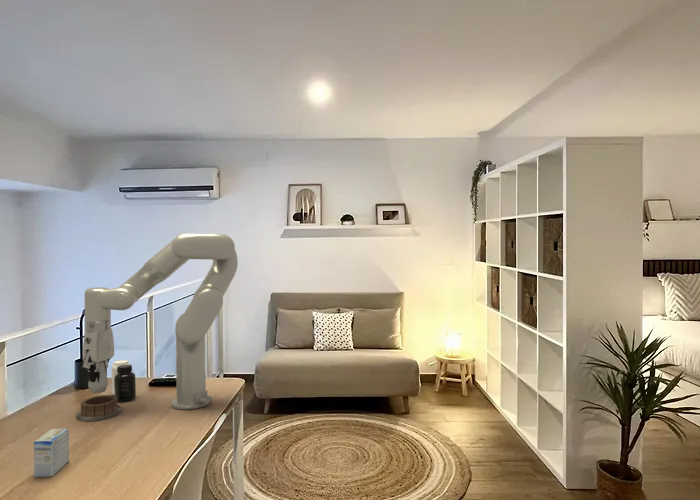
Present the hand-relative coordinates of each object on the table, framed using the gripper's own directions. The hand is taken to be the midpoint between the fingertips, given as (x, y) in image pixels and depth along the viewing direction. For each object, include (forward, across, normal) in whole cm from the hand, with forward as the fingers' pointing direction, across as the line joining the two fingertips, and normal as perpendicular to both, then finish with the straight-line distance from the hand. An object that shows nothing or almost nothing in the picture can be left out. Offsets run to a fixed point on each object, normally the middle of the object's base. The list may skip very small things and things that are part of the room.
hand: (98, 381), depth 156 cm
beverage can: (+11, +20, +5) cm, 23 cm away
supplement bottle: (+11, +14, 0) cm, 18 cm away
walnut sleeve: (+11, 0, 0) cm, 11 cm away
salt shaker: (+3, 0, 0) cm, 3 cm away
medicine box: (+11, -37, -13) cm, 40 cm away
